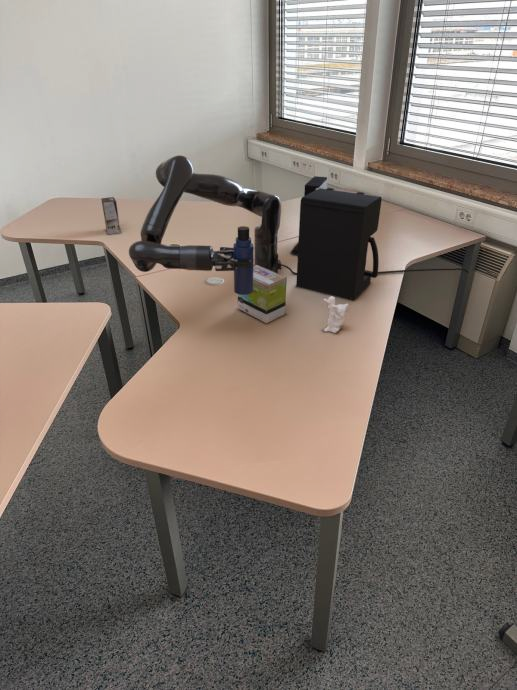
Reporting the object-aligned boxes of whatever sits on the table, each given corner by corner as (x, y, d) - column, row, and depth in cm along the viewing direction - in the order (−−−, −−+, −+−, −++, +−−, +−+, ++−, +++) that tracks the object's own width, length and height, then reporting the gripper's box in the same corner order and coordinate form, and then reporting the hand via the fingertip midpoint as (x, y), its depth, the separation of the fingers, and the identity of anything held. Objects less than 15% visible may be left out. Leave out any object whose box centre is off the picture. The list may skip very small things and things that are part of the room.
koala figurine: (321, 334, 160) (323, 301, 153) (320, 324, 165) (323, 292, 159) (346, 335, 159) (350, 302, 153) (345, 325, 165) (349, 293, 158)
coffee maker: (380, 284, 193) (394, 195, 175) (363, 303, 179) (376, 208, 161) (316, 270, 205) (322, 185, 187) (295, 286, 191) (300, 197, 173)
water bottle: (249, 285, 156) (249, 223, 145) (256, 293, 151) (256, 230, 140) (231, 288, 154) (230, 226, 143) (237, 296, 149) (237, 232, 138)
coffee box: (121, 233, 246) (116, 201, 237) (108, 234, 243) (102, 202, 235) (118, 227, 253) (114, 196, 244) (105, 229, 251) (100, 197, 242)
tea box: (236, 309, 174) (235, 271, 167) (256, 301, 180) (256, 263, 173) (266, 324, 165) (267, 284, 157) (286, 314, 171) (287, 275, 163)
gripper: (192, 254, 139) (250, 256, 139) (199, 238, 151) (253, 239, 151) (193, 279, 143) (250, 280, 143) (200, 260, 155) (252, 262, 155)
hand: (251, 259), depth 147 cm, fingers closed on water bottle, 6 cm apart
